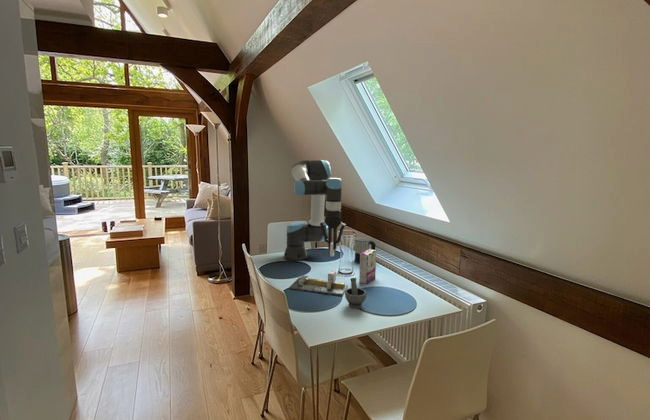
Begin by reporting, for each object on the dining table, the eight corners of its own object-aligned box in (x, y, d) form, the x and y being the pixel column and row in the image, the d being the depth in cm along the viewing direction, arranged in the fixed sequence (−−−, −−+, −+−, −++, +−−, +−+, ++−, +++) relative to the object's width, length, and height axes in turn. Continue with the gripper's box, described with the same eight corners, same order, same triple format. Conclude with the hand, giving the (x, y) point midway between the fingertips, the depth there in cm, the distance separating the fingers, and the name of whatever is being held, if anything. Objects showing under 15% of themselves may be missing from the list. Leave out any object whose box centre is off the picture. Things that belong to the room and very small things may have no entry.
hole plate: (297, 280, 192) (297, 278, 191) (347, 287, 184) (347, 285, 184) (289, 288, 180) (289, 286, 180) (342, 296, 172) (342, 293, 172)
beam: (300, 280, 189) (300, 275, 188) (345, 286, 182) (345, 280, 181) (295, 285, 182) (295, 279, 182) (341, 291, 175) (341, 286, 175)
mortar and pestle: (367, 310, 158) (369, 285, 156) (347, 311, 156) (348, 285, 154) (361, 299, 169) (362, 275, 167) (342, 300, 167) (343, 276, 165)
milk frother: (360, 264, 220) (361, 241, 217) (344, 257, 232) (345, 236, 230) (376, 260, 228) (378, 238, 225) (360, 254, 241) (361, 233, 238)
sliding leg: (330, 283, 185) (330, 270, 184) (335, 283, 184) (336, 270, 183) (325, 288, 177) (326, 275, 176) (331, 289, 177) (331, 276, 175)
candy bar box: (367, 276, 200) (368, 248, 197) (375, 278, 197) (376, 250, 194) (358, 282, 191) (359, 253, 188) (366, 284, 188) (368, 255, 185)
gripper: (318, 209, 170) (317, 256, 174) (344, 211, 166) (342, 259, 171) (322, 207, 177) (322, 252, 181) (347, 209, 173) (346, 255, 178)
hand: (332, 255), depth 176 cm, fingers closed
